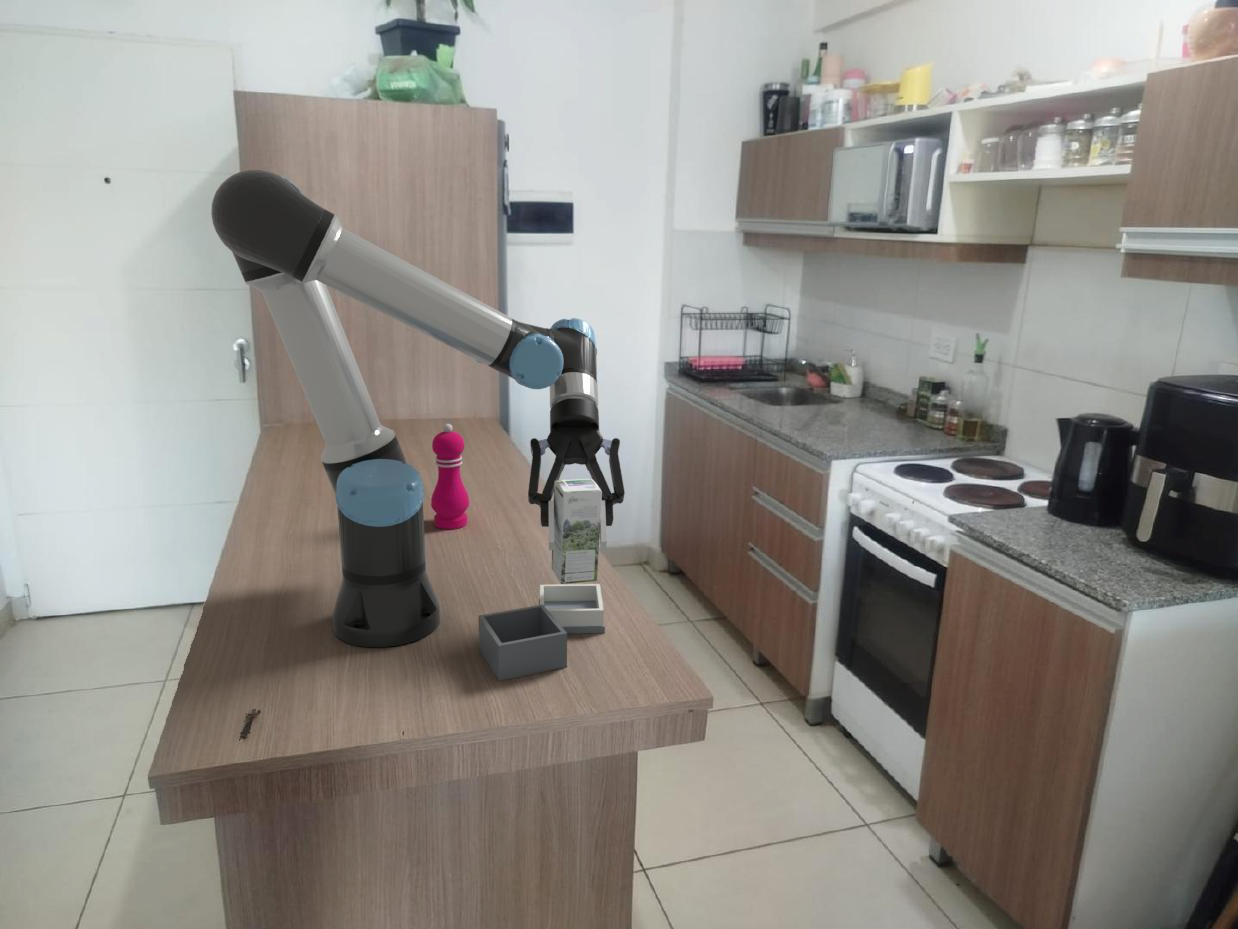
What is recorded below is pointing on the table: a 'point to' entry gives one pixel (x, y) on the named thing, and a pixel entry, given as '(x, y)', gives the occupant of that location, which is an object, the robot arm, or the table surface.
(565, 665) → the deep sleeve
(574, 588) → the low tray
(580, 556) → the syrup box
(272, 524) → the table surface
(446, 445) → the pepper mill
